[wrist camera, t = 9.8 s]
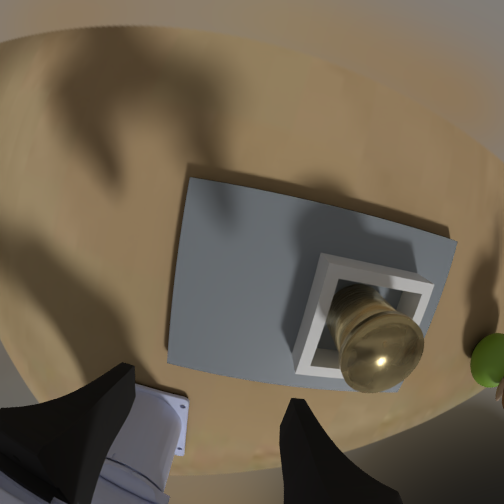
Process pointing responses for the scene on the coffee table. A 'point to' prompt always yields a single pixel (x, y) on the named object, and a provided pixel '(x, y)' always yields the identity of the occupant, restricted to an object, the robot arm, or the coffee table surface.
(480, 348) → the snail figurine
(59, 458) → the robot arm
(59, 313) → the coffee table surface
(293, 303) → the fitting board
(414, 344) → the brass door knob
